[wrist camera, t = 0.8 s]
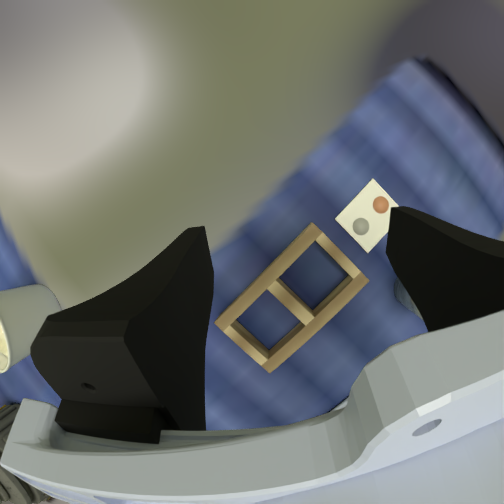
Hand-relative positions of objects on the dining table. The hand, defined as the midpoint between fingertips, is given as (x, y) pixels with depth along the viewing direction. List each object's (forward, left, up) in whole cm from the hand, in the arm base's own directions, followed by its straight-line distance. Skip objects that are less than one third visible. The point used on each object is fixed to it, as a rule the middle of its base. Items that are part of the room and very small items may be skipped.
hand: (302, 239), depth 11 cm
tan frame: (-5, +5, -20) cm, 22 cm away
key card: (-5, -7, -20) cm, 22 cm away
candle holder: (+17, +32, -20) cm, 42 cm away
